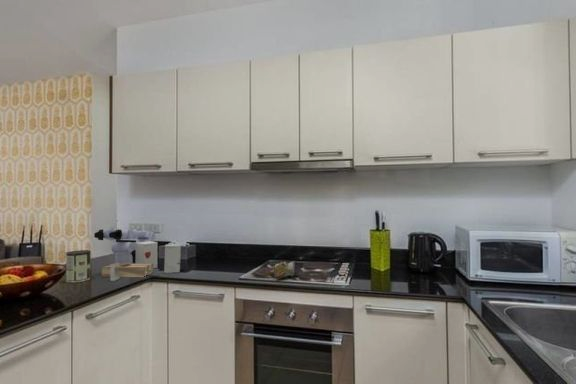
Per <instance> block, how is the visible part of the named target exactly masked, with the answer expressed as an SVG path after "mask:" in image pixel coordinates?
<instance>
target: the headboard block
mask: <svg viewBox="0 0 576 384" xmlns="http://www.w3.org/2000/svg"><path fill="white" fill-rule="evenodd" d="M153 273H154V268H153V263H134V262H132V263H119V278H145V277H147V276H149V275H151V274H153ZM146 275H147V276H146ZM144 276H145V277H144ZM101 278H110V264H108V265H105V266H101Z"/></svg>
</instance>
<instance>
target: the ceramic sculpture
mask: <svg viewBox="0 0 576 384" xmlns="http://www.w3.org/2000/svg"><path fill="white" fill-rule="evenodd" d="M264 274H265V275H267V276H271V277H273V278H274V279H283V278H285V277H288V276H289V277H293V276H294V274H295V262H294V261H291V262H289V263H288V262H286V261H284V260H281V261H280V263H276V264H275V265H274V266H273V269H272V270H270V271H269V272H265V273H264Z"/></svg>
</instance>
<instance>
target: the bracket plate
mask: <svg viewBox="0 0 576 384" xmlns="http://www.w3.org/2000/svg"><path fill="white" fill-rule="evenodd" d="M109 265H110V277H109V279H110V282H115V281H117V280H119V279H120V277H119V263H115V262H114V263H110V264H109Z"/></svg>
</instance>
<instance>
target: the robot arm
mask: <svg viewBox="0 0 576 384" xmlns="http://www.w3.org/2000/svg"><path fill="white" fill-rule="evenodd" d="M93 237H94V238H95V239H97V240H98V241H104V239H105V240H108V241H115V242H113V243H112V245H111V251H112V253H113V254H114V256H115V257H114V258H115V262H114V263H133V255H132V252H133V251H136V243H138V242H148V241H151V242H155V239H156V234H155V232H154V231H148V230H138V229H136V228H126V229H125V228H124V229H123V228H119V229H118V228H117V229H116V227H114V226H112V227H110V228H109V229H107V230H105V231H104V229H99V230H98V231H96V232H94V236H93ZM132 239H133V240H134V239H136V241H134V242H131V241H128V242H127V241H126V242H125V241H124V242H123V241H121V240H132ZM119 241H120V242H119Z"/></svg>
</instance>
